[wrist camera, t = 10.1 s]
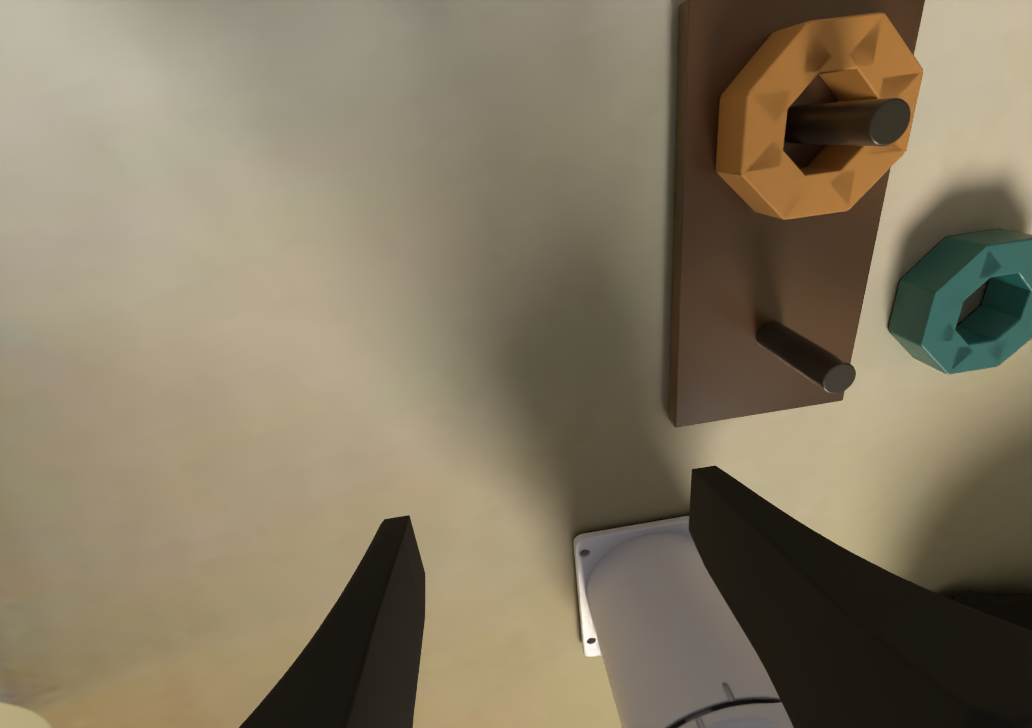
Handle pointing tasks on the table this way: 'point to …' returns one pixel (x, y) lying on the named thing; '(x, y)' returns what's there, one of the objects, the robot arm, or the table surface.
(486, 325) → the table surface
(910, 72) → the ochre ring
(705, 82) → the peg rack
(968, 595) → the penguin
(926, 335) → the teal ring
